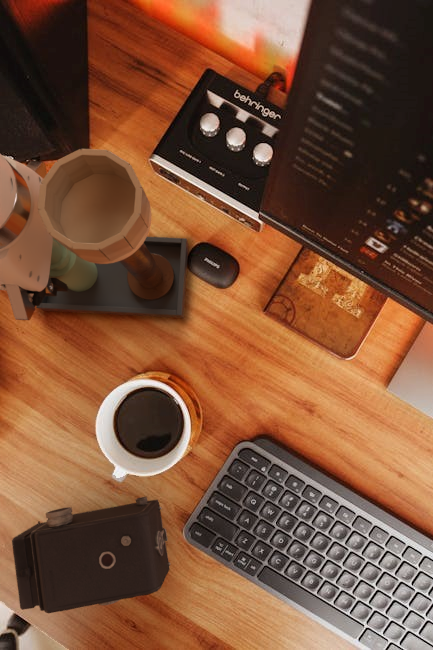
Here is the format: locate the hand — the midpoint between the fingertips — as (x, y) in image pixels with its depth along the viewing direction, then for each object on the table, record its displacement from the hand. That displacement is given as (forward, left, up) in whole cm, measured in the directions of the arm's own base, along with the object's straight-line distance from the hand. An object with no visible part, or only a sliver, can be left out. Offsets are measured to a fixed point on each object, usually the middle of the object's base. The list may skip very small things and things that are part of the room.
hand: (56, 258), depth 59 cm
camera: (+6, -31, -9) cm, 32 cm away
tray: (+4, 0, -9) cm, 10 cm away
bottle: (0, 0, -8) cm, 8 cm away
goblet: (+9, 0, -8) cm, 12 cm away
